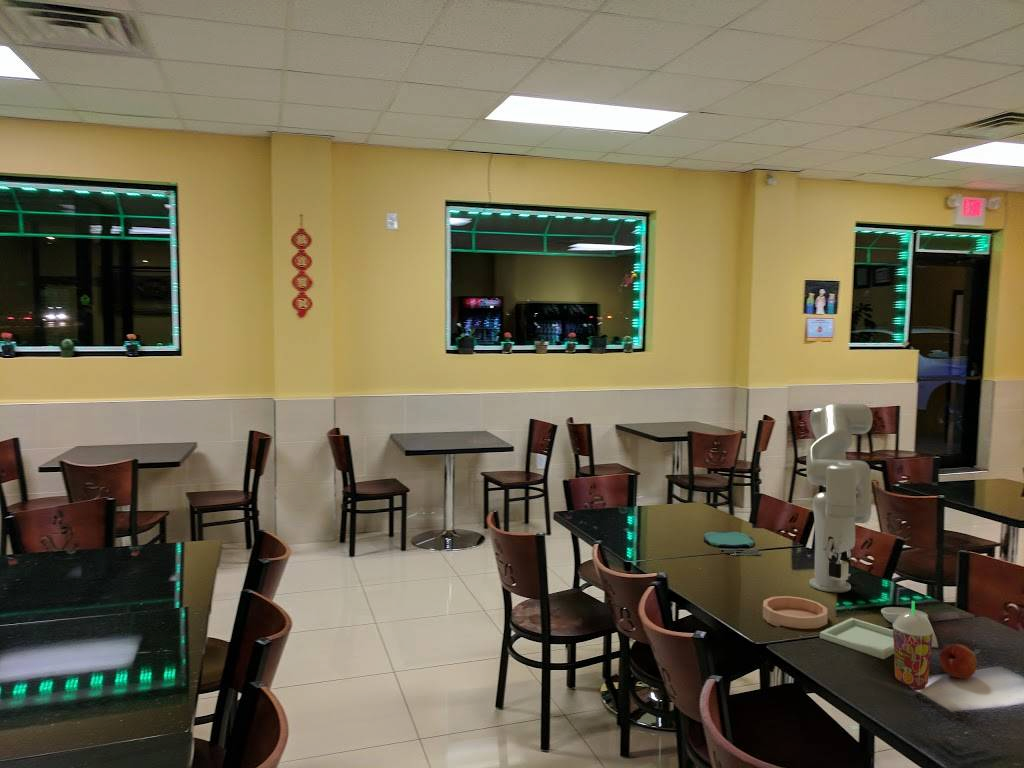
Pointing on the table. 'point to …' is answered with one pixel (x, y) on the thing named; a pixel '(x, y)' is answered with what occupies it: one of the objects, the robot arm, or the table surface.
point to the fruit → (958, 661)
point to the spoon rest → (894, 612)
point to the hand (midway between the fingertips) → (839, 574)
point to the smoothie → (912, 648)
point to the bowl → (794, 612)
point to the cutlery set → (731, 541)
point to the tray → (861, 637)
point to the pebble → (843, 570)
